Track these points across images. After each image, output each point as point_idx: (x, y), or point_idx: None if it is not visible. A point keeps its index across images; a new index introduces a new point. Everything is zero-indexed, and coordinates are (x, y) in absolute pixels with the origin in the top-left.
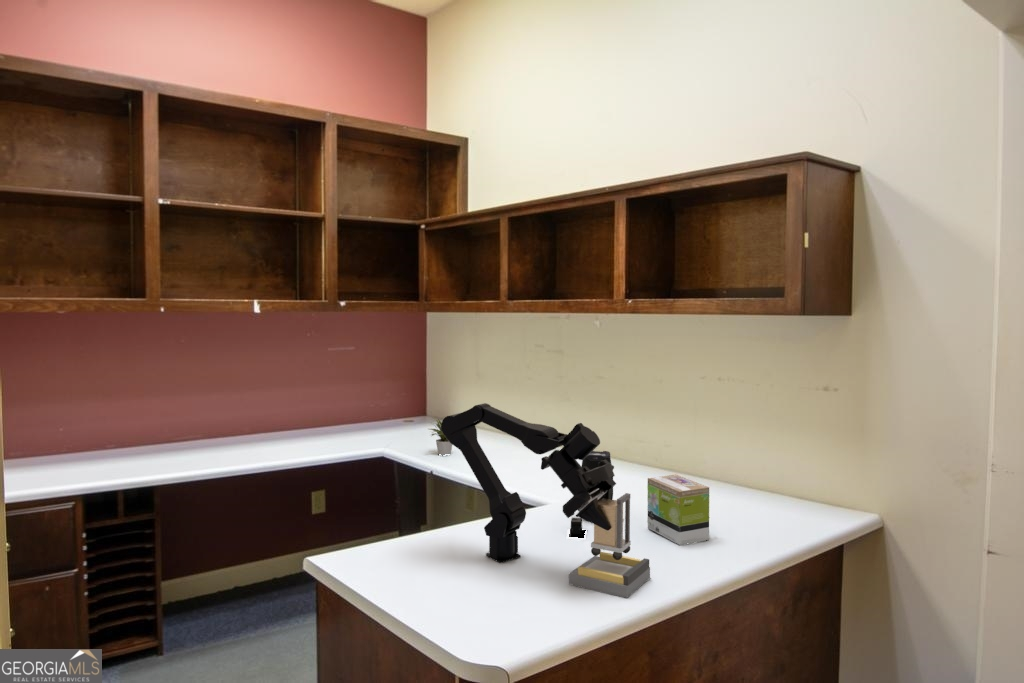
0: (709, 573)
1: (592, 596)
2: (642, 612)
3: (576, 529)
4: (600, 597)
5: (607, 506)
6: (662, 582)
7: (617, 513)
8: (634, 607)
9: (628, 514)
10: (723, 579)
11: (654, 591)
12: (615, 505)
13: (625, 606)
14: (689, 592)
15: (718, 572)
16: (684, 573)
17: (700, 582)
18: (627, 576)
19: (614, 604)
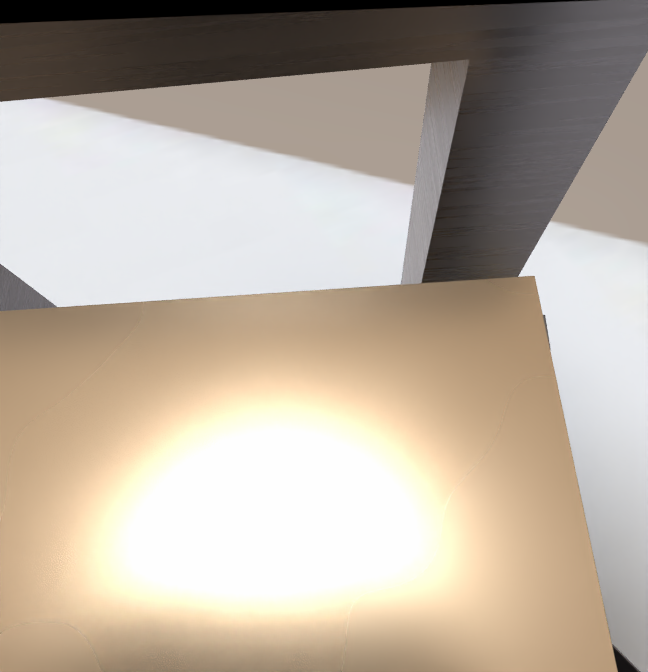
0: (31, 166)
1: (635, 540)
2: (617, 238)
3: None
4: (613, 490)
5: (593, 644)
6: (229, 292)
7: (522, 258)
8: (595, 287)
9: (43, 301)
10: (79, 107)
11: (358, 282)
12: (331, 339)
13: (616, 326)
14: (284, 162)
15: (6, 143)
16: (70, 249)
17: (151, 163)
18: (544, 319)
19: (637, 382)
